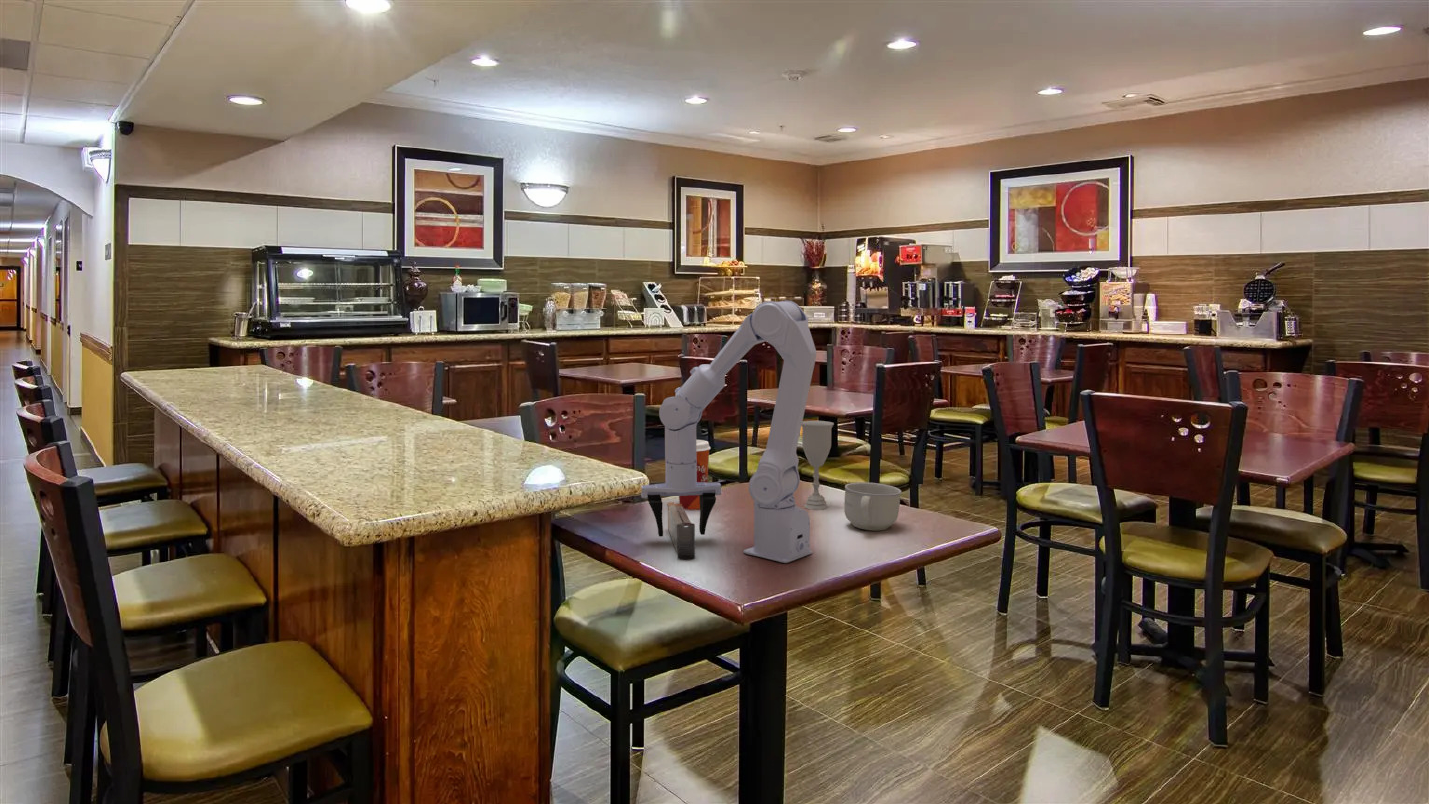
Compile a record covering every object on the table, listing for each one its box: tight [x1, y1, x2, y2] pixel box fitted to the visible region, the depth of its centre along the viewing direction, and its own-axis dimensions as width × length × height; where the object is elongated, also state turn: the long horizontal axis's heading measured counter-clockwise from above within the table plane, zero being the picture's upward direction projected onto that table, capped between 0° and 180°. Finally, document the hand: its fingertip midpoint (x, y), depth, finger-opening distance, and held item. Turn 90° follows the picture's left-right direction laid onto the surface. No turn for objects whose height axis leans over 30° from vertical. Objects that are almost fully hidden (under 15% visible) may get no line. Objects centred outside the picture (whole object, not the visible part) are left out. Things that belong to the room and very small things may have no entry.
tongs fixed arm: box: [674, 503, 696, 561], centre depth 166 cm, size 20×3×6 cm, turn 9°
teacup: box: [843, 481, 902, 532], centre depth 175 cm, size 14×11×8 cm
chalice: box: [801, 420, 835, 511], centre depth 192 cm, size 7×7×18 cm
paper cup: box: [678, 439, 711, 511], centre depth 193 cm, size 8×8×14 cm
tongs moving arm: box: [667, 501, 683, 554], centre depth 167 cm, size 17×1×5 cm, turn 8°
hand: (681, 534), depth 167 cm, fingers open, 7 cm apart
